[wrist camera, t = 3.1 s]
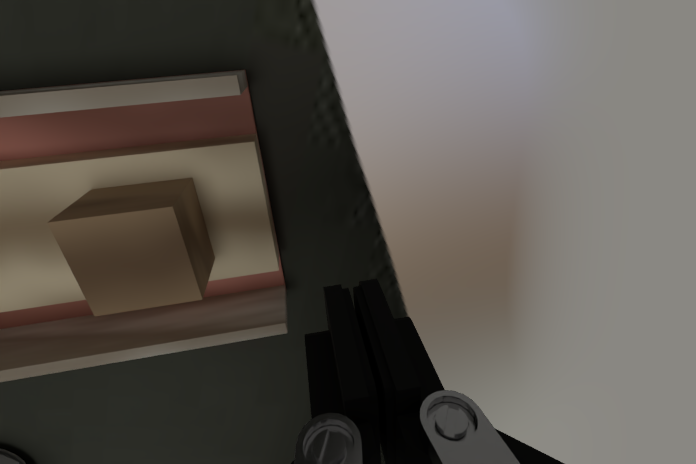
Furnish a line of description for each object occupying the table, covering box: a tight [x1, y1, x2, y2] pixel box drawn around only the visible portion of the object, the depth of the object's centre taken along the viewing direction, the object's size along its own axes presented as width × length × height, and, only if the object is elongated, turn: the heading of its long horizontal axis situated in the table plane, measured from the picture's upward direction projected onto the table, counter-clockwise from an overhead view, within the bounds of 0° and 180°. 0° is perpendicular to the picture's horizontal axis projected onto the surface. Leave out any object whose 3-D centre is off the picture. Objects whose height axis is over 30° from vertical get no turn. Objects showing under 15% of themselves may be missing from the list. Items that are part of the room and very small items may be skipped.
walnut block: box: [47, 178, 215, 316], centre depth 18 cm, size 5×5×4 cm
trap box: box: [0, 70, 287, 382], centre depth 19 cm, size 15×25×6 cm, turn 95°
